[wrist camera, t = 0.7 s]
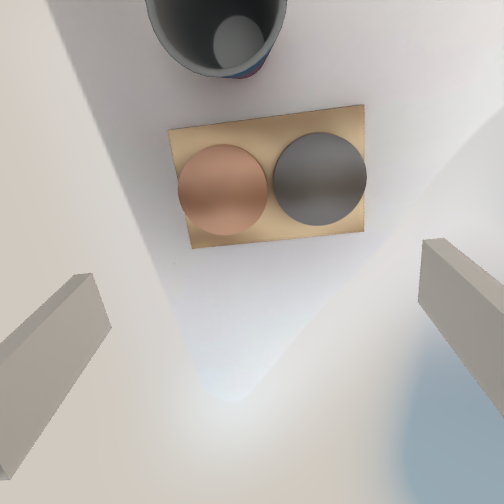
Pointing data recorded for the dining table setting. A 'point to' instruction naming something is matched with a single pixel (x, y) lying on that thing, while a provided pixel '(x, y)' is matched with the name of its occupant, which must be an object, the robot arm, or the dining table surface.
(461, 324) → the robot arm
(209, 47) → the cup
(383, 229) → the dining table surface
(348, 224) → the stand board
